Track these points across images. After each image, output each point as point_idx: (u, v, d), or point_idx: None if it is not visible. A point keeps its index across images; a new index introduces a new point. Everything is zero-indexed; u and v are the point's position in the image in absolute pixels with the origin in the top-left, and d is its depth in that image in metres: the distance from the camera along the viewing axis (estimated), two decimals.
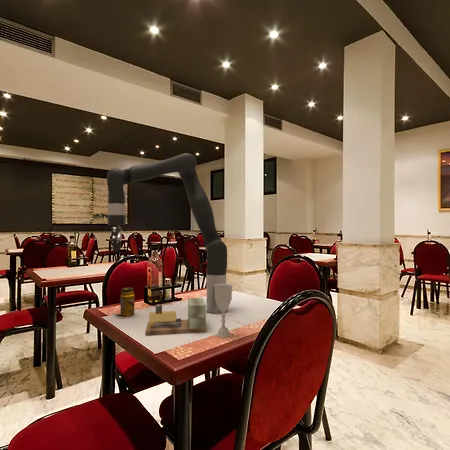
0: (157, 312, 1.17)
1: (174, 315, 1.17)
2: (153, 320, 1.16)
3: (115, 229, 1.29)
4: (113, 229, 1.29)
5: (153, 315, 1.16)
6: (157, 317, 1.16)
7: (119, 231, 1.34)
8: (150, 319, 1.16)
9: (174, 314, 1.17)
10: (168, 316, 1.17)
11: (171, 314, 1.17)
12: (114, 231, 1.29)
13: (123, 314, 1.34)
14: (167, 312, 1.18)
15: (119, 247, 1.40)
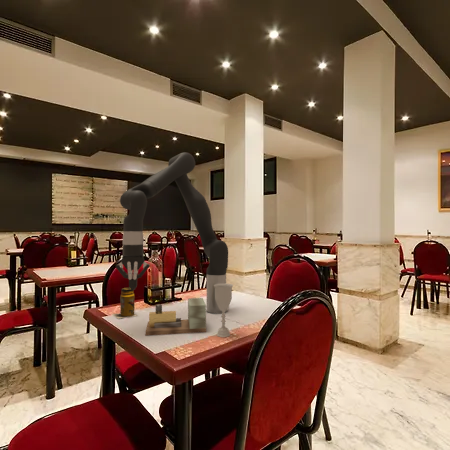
0: (157, 312, 1.17)
1: (174, 315, 1.17)
2: (153, 320, 1.16)
3: None
4: (148, 267, 1.17)
5: (153, 315, 1.16)
6: (157, 317, 1.16)
7: None
8: (150, 319, 1.16)
9: (174, 314, 1.17)
10: (168, 316, 1.17)
11: (171, 314, 1.17)
12: (147, 268, 1.17)
13: (123, 314, 1.34)
14: (167, 312, 1.18)
15: None
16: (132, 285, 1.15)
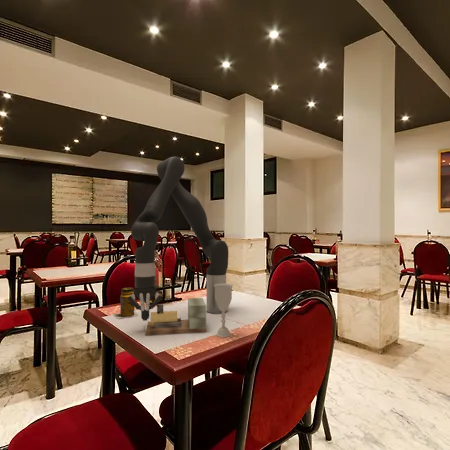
0: (158, 312, 1.17)
1: (175, 315, 1.17)
2: (154, 320, 1.16)
3: (160, 297, 1.19)
4: (160, 298, 1.18)
5: (154, 315, 1.16)
6: (158, 317, 1.16)
7: None
8: (151, 319, 1.16)
9: (175, 314, 1.17)
10: (169, 316, 1.17)
11: (172, 314, 1.17)
12: None
13: (123, 314, 1.34)
14: (169, 312, 1.18)
15: None
16: (144, 316, 1.16)
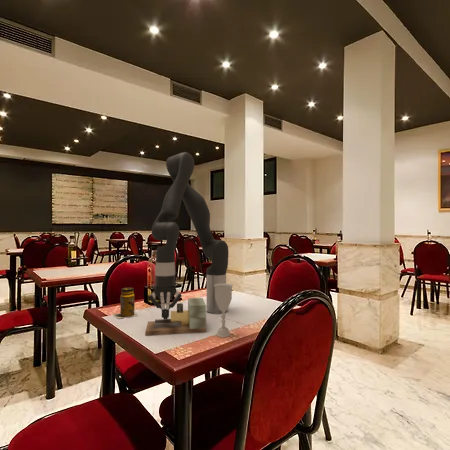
0: (178, 311, 1.18)
1: None
2: (174, 319, 1.17)
3: None
4: (180, 297, 1.19)
5: (175, 314, 1.17)
6: (178, 316, 1.18)
7: None
8: (172, 318, 1.17)
9: None
10: None
11: None
12: None
13: (123, 314, 1.34)
14: (188, 311, 1.19)
15: None
16: (165, 315, 1.17)
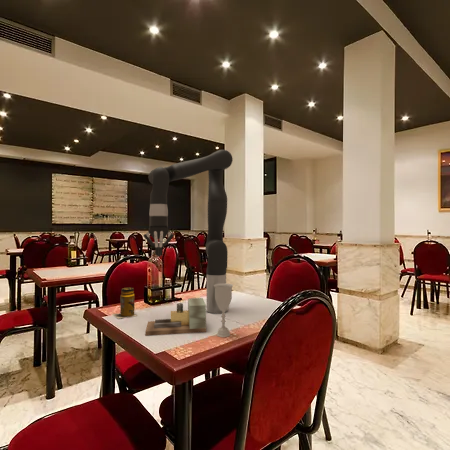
0: (178, 311, 1.18)
1: None
2: (174, 319, 1.17)
3: None
4: (172, 236, 1.30)
5: (175, 314, 1.17)
6: (178, 316, 1.18)
7: None
8: (171, 318, 1.17)
9: None
10: None
11: None
12: None
13: (123, 314, 1.34)
14: (188, 311, 1.19)
15: None
16: (158, 252, 1.29)
